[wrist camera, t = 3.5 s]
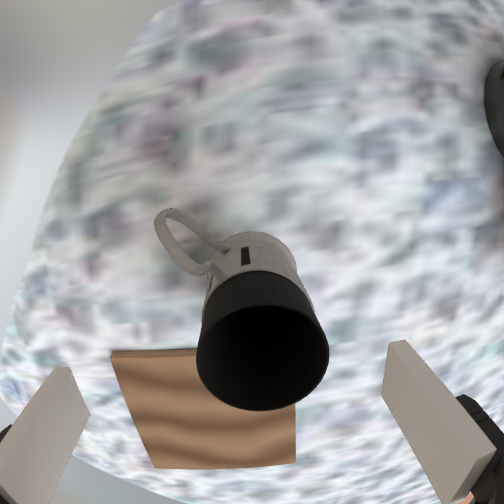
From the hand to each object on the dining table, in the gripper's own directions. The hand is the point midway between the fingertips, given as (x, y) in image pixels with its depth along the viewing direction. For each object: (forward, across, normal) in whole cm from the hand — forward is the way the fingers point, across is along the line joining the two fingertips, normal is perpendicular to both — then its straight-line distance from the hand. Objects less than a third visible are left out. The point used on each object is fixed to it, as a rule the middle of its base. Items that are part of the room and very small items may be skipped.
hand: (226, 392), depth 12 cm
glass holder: (+20, 0, 0) cm, 20 cm away
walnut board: (+20, -5, -20) cm, 29 cm away
